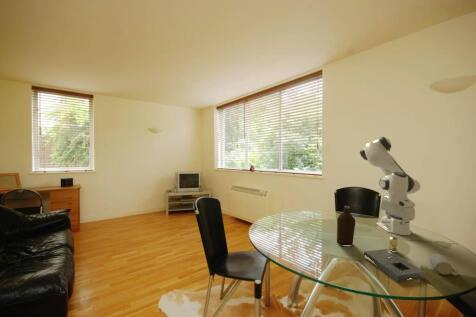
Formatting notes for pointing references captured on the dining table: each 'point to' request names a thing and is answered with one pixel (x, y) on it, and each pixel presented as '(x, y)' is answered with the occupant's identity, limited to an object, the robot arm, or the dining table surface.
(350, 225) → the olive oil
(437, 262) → the ceramic mug
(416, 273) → the metal jig
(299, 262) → the dining table surface
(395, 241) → the brass bushing
